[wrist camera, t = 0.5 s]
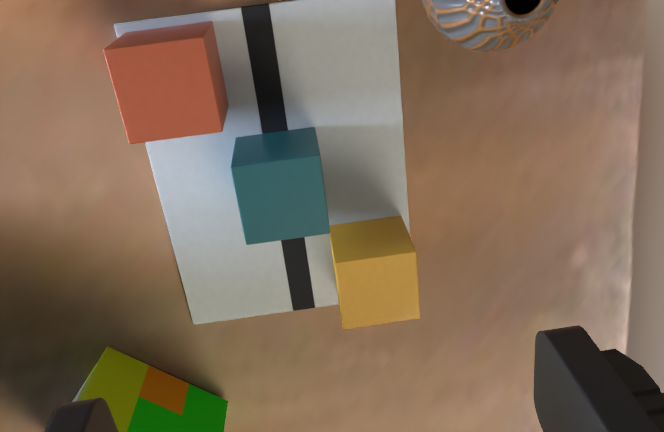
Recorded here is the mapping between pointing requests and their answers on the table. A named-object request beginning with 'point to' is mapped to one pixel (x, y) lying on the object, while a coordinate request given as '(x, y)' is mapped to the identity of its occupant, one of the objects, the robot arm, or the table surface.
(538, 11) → the vase
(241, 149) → the teal block
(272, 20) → the desk mat
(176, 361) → the table surface
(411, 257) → the mustard block
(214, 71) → the terracotta block
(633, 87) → the table surface
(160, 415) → the puzzle toy
